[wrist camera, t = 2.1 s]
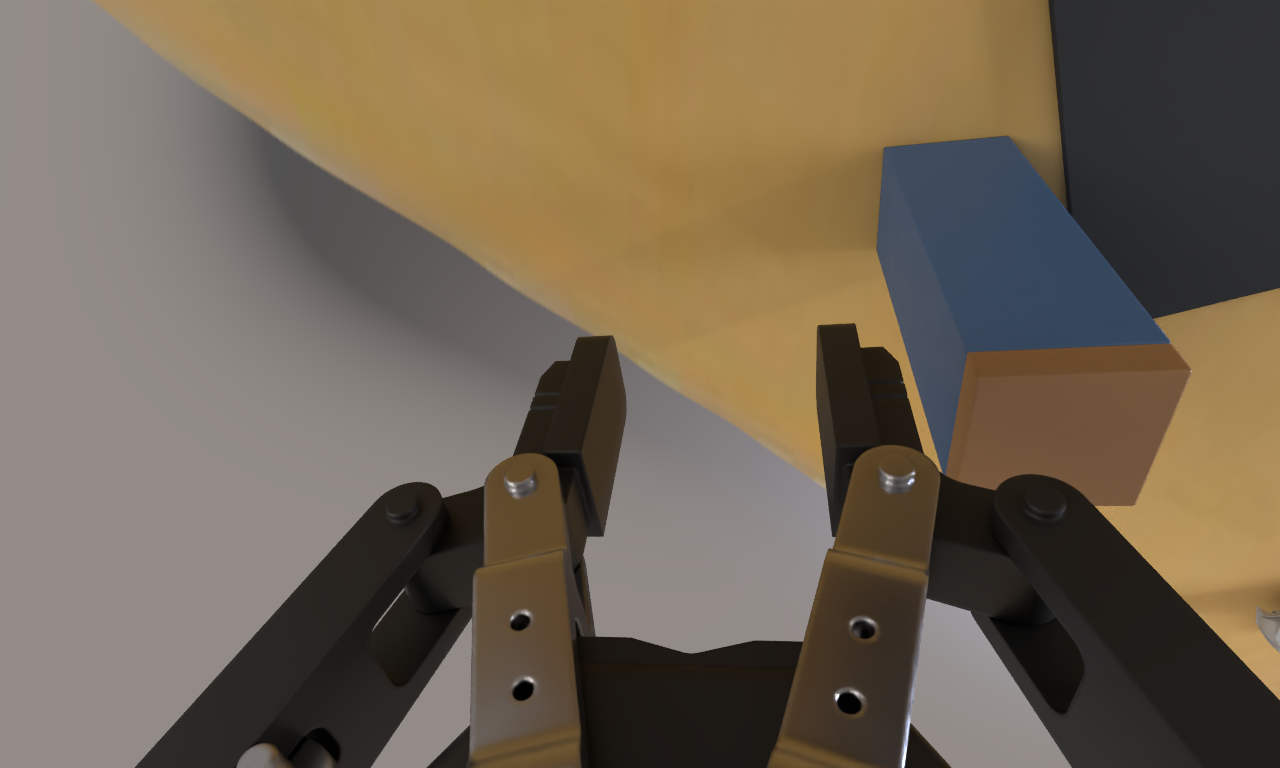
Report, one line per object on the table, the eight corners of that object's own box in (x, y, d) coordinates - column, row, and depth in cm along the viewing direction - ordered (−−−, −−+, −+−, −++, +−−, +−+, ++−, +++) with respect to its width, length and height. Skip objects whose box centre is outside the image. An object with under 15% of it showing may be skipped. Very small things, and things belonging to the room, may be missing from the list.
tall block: (876, 250, 34) (952, 508, 21) (883, 146, 31) (977, 378, 18) (989, 242, 33) (1135, 506, 21) (1008, 135, 30) (1194, 370, 17)
